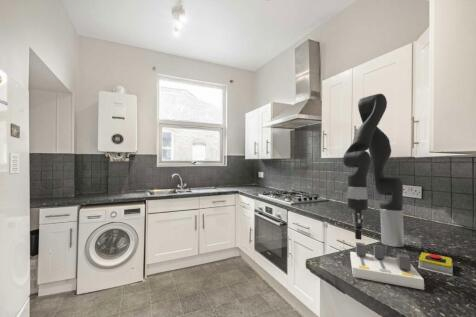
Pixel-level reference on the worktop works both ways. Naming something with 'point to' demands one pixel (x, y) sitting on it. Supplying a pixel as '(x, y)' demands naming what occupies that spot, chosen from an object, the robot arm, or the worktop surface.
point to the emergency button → (436, 263)
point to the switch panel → (384, 271)
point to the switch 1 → (360, 249)
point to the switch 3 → (403, 261)
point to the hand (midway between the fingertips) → (358, 238)
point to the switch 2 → (378, 251)
